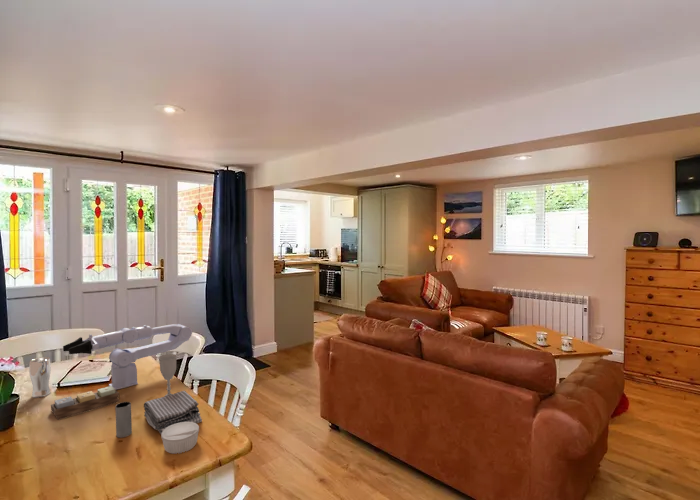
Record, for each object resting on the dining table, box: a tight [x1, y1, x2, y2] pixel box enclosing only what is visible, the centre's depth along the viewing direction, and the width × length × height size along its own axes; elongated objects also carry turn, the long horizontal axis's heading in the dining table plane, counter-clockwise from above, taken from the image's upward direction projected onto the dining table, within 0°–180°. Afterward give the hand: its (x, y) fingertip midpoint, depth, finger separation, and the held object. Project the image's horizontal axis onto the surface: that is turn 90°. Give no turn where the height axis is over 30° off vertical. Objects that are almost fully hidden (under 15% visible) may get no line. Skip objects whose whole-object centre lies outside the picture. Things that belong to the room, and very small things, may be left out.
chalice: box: [157, 353, 178, 396], centre depth 156 cm, size 7×7×18 cm
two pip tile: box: [76, 390, 95, 403], centre depth 152 cm, size 5×5×2 cm
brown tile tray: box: [50, 390, 120, 421], centre depth 152 cm, size 21×11×3 cm, turn 137°
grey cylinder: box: [114, 401, 133, 439], centre depth 131 cm, size 4×4×10 cm
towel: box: [143, 390, 203, 435], centre depth 141 cm, size 15×18×8 cm
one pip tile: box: [96, 385, 115, 397], centre depth 157 cm, size 5×5×2 cm
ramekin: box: [160, 422, 200, 455], centre depth 124 cm, size 11×11×5 cm
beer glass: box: [28, 356, 52, 399], centre depth 162 cm, size 7×7×15 cm
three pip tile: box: [54, 396, 74, 409], centre depth 147 cm, size 5×5×2 cm
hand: (66, 350), depth 156 cm, fingers open, 7 cm apart
